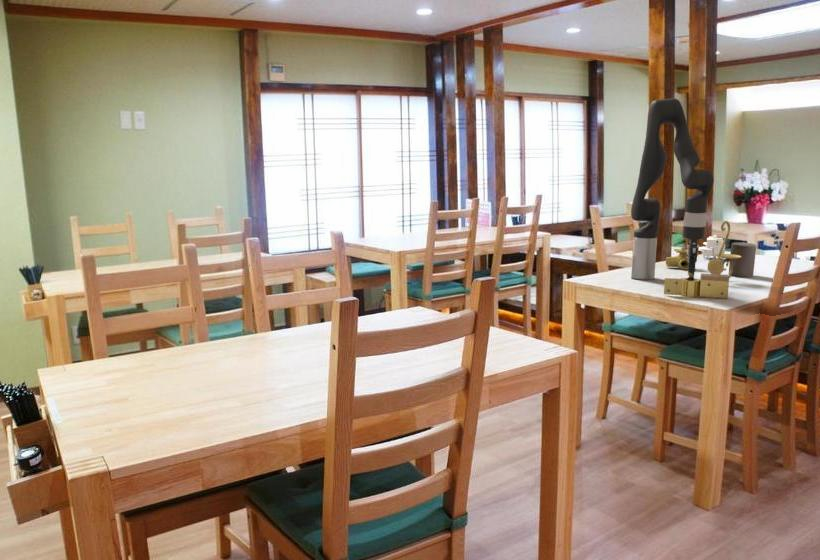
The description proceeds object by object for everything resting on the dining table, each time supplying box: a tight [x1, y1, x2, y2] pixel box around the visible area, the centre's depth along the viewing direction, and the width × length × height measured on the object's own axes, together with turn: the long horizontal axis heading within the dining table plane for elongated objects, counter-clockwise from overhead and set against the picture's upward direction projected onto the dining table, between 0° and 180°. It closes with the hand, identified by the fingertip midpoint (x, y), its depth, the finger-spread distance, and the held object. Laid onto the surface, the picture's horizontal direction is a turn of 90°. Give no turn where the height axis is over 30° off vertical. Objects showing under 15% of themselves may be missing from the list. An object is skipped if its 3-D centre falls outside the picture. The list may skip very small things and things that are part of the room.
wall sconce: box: [707, 220, 741, 279], centre depth 271 cm, size 14×10×25 cm
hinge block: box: [663, 273, 730, 300], centre depth 247 cm, size 22×7×8 cm, turn 72°
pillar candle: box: [727, 240, 757, 278], centre depth 286 cm, size 10×10×15 cm
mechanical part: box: [698, 234, 726, 260], centre depth 331 cm, size 11×12×12 cm
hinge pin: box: [686, 250, 695, 281], centre depth 246 cm, size 4×4×12 cm
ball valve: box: [665, 246, 688, 270], centre depth 306 cm, size 13×10×10 cm
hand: (691, 271), depth 247 cm, fingers closed on hinge pin, 2 cm apart
